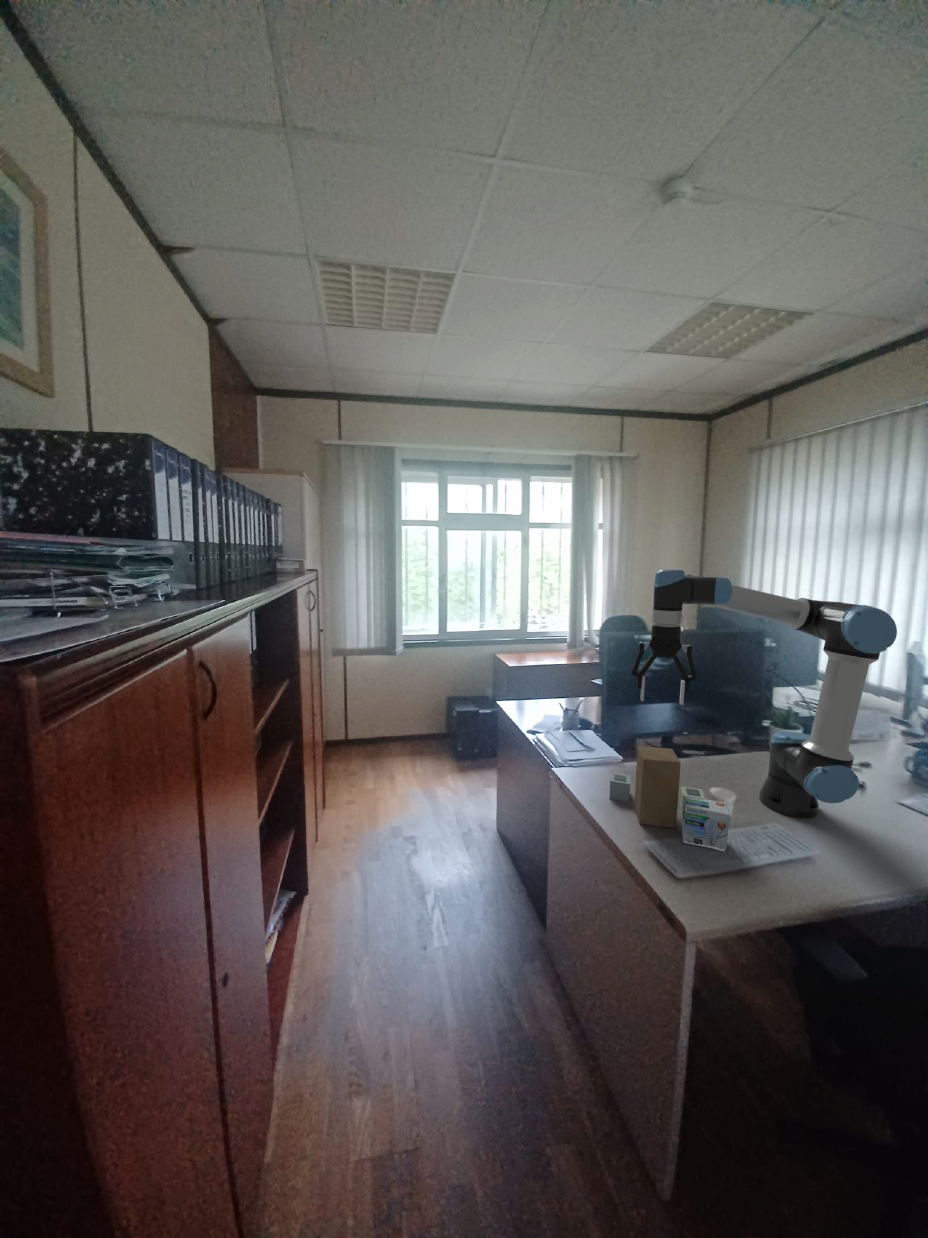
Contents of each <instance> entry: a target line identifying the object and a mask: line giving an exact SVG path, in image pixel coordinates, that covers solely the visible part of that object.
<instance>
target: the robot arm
mask: <svg viewBox="0 0 928 1238" xmlns="http://www.w3.org/2000/svg"><path fill="white" fill-rule="evenodd" d="M685 573H686V571H685V570H682V569H658V570H657V571H656V572H655V576H654V584H653V588H654V589H653V606H652V608H653V609H652V617H651V618H652V620H651V621H652V623H653V625H651V634H650V635H651V637H650V640H649V642H647V641H646V642H643V641H639V642H638V647H639V649H638V652H637V654H636V658H635V661H634V663H633V666H632V668H631V672H630V673H631V675H632V676H635V677H636V678H637V680H636V681H637V683H636V687H637V689H639V690H640V701H641V702H644V701H645V685H646V684H645V683H646V676H644V675H645V674H646V672H647V671H648V670H649V669H650V667H651V666H652V665H653V663H654V662H655V661H656V659H657V658H666V659H671V658H672V659H673V661H674V663H675V664H676V666H677V669H678V670H679V672H680V674H681V676H682V678H683V679H680V690H679V691H680V692H679V705H681V706H684V703H685V702H684V700H685V694H688V693H689V689H690V683H691V682H693V681H697V680H698V677H697V673H696V669H695V664H694V660H693V656H692V653H693V647H692V645H691V644H689V643H688V644H682V642H681V633H682V631H681V630H682V627H681V626H680V625H682V618H683V617H682V616H683V605H707V606H709V607H710V606H711V607H715V608H719V609H723V610H727V611H732V612H736V613H738V614H743V615H748V616H751V617H754V618H755V617H756V618H759V619H764V620H769V621H771V622H772V621H773V622H775V623H776V622H777V623H781V624H785V625H787V626H788V628H789V629H791V630H794V631H797V632H802V633H805V634H808V635H811V636H813V637H815V638H818V639H820V640H822V641H824V644H823V652H824V653H825V654H826V656H827V657H828V658H827V663H826V668H825V671H824V675H823V680H822V684H821V689H820V694H819V698H818V701H817V705H816V709H815V710H816V711H815V715H814V719H813V723H812V726H811V732H810V734H807V733H802V732H798V731H797V732H796V731H785V730H784V731H776V732H774V733H773V734H772V737H771V741H770V751H769V753H770V754H769V760H768V761H769V762H768V772H767V777H766V778H765V781H764V783H763V785H762V786H761V788H760V790H759V800H760V802H761V803H762V804H763V805H764V806H766V807H767V808H770V809H771V810H773V811H775V812H777V813H780V814H783V815H786V816H791V817H795V818H796V817H797V818H804V819H805V818H806V819H807V818H813V817H816V816H817V815H818V814H819V802H818V801H820V802H823V803H825V804H826V803H827V804H838V803H839V804H840V803H843V802H844V801H846V800H850V799H851V798H852V797H853V796H854V795H855V794H856V793H857V792H858V789H859V787H860V782H859V777H858V776H857V774H856V773H855V771H854V770H852V768H853V763H854V760H855V757H854V755H853V754H852V753H851V751H850V750H849V749H850V745H851V740H852V737H853V732H854V728H855V726H856V725H855V724H856V719H857V716H858V712H859V707H860V705H861V704H860V703H861V700H862V696H863V692H864V689H865V683H866V680H867V675H868V671H869V668H870V665H871V664H874V663H876V662H878V661H879V659H880V656H881V653H882V652H885V651H887V650H888V648H890V647H892V646H893V645H894V643H895V641H896V638H897V635H898V628H897V624H896V622H895V620H894V618H893V617H891V615H890V614H889V613H888V612H887V611H885V610H883V609H880V608H877V607H874V606H871V605H866V604H865V605H864V604H857V603H856V604H855V603H848V602H841V601H827V600H817V599H809V598H805V597H799V598H797V599H794V598H790V597H786V596H782V595H777V594H773V593H768V592H764V591H760V590H756V589H751V588H749V587H748V588H747V587H743V586H738V585H734V584H733V583H732V582H731V580H730V579H729V578H727V577H719V576H716V577H715V576H714V577H713V576H712V577H711V576H700V575H691V574H685ZM648 647H649V648H650V649H651V651H652V652H651V654H650V655H649V657H648V659H647V660H646V661H645V662H644V664H643V666H642V667H641V668H640V669H639V667H640V664H641V661H642V658H643V656H644V653H645V651H646V650H647V649H648ZM681 649H682V651H683V653H684V654H685V656H686V660H687V666H688V669H689V674H690V675H688V674H687V672H686V670H685V669H684V666H683V664H682V662H681V660H680V659H679V657H678V655H677V653H679V651H680V650H681ZM638 670H639V671H638Z"/></svg>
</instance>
